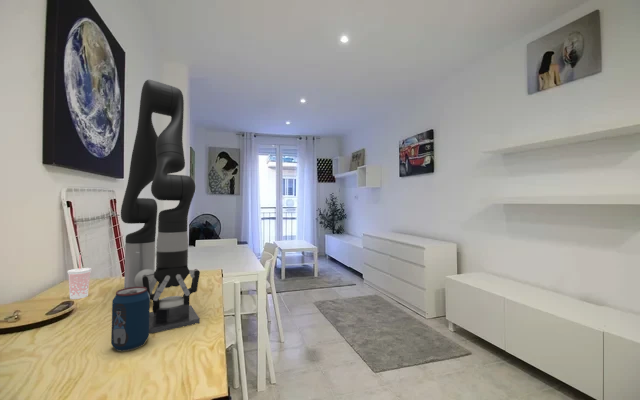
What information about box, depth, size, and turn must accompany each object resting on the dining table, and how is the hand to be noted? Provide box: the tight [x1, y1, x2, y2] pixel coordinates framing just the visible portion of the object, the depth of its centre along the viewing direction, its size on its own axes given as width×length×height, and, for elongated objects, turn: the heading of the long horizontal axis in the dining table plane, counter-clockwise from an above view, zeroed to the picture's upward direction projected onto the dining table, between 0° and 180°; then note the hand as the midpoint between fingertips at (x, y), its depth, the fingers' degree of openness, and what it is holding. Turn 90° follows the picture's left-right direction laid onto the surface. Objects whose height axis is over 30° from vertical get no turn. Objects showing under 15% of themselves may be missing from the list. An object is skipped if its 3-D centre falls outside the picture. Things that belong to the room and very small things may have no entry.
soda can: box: [110, 287, 151, 352], centre depth 63 cm, size 7×7×12 cm
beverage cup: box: [67, 254, 92, 300], centre depth 95 cm, size 6×6×14 cm
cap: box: [159, 295, 184, 308], centre depth 76 cm, size 6×6×4 cm
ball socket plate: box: [149, 303, 201, 335], centre depth 76 cm, size 12×12×5 cm
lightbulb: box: [135, 269, 158, 303], centre depth 87 cm, size 6×6×11 cm
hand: (171, 311), depth 76 cm, fingers closed on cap, 6 cm apart
